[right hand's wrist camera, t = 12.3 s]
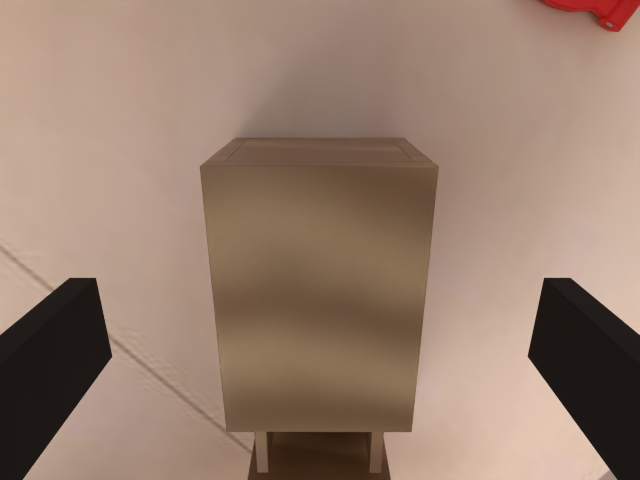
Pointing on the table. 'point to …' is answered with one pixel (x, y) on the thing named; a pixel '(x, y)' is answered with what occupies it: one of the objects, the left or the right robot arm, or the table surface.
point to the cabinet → (319, 280)
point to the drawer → (319, 456)
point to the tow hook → (601, 10)
